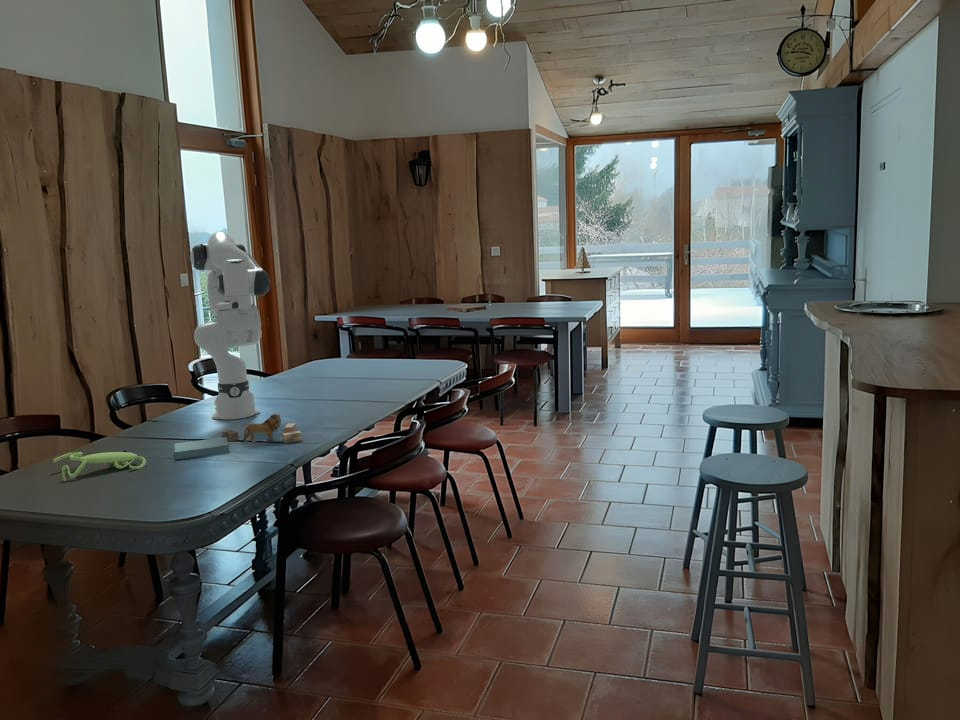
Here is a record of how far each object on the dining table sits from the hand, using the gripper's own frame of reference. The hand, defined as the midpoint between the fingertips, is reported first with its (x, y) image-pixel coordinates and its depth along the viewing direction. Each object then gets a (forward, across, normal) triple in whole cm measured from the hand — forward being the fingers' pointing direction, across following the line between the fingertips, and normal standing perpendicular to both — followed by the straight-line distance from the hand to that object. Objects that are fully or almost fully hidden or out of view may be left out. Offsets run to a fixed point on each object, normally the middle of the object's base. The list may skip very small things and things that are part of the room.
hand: (241, 343), depth 279 cm
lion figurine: (+35, +1, +7) cm, 36 cm away
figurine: (+37, +43, -26) cm, 62 cm away
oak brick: (+35, -1, +18) cm, 40 cm away
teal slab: (+36, +18, -6) cm, 40 cm away
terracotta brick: (+34, -10, +10) cm, 37 cm away
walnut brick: (+34, +3, -6) cm, 35 cm away
